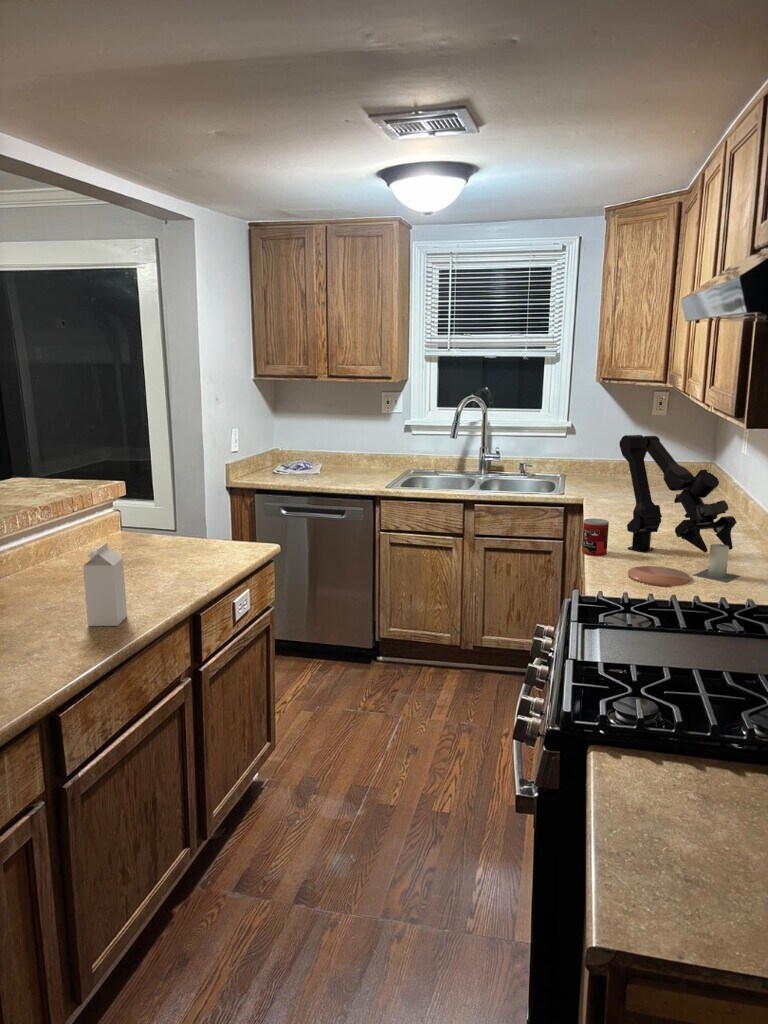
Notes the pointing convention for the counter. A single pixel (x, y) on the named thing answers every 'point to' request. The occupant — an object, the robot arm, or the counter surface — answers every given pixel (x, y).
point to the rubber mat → (727, 579)
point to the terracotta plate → (658, 576)
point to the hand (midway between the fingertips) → (718, 550)
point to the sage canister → (718, 560)
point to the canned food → (595, 537)
